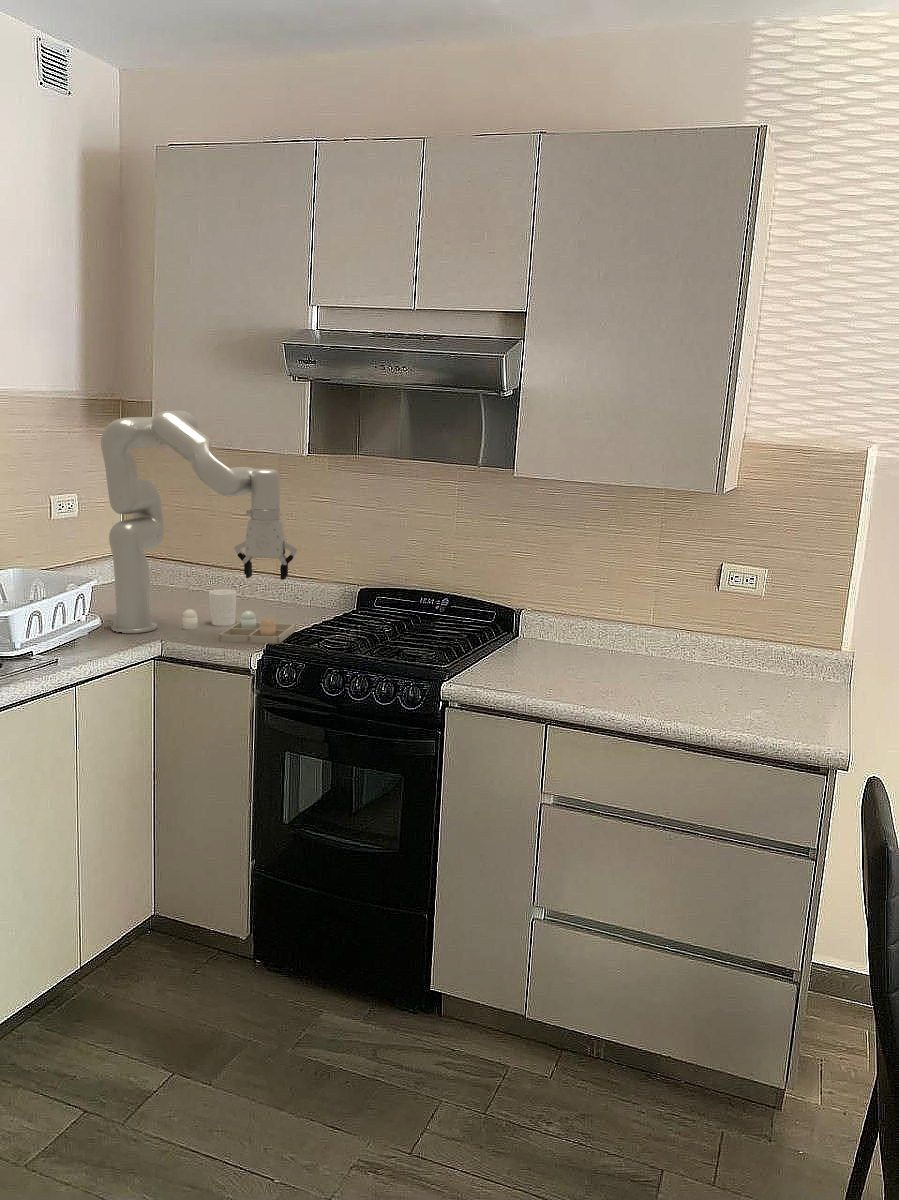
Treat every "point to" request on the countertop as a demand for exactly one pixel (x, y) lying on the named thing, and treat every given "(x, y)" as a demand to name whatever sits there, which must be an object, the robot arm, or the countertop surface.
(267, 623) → the brown egg
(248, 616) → the green egg
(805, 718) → the countertop surface
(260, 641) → the egg tray
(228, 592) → the white cup
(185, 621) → the white egg
